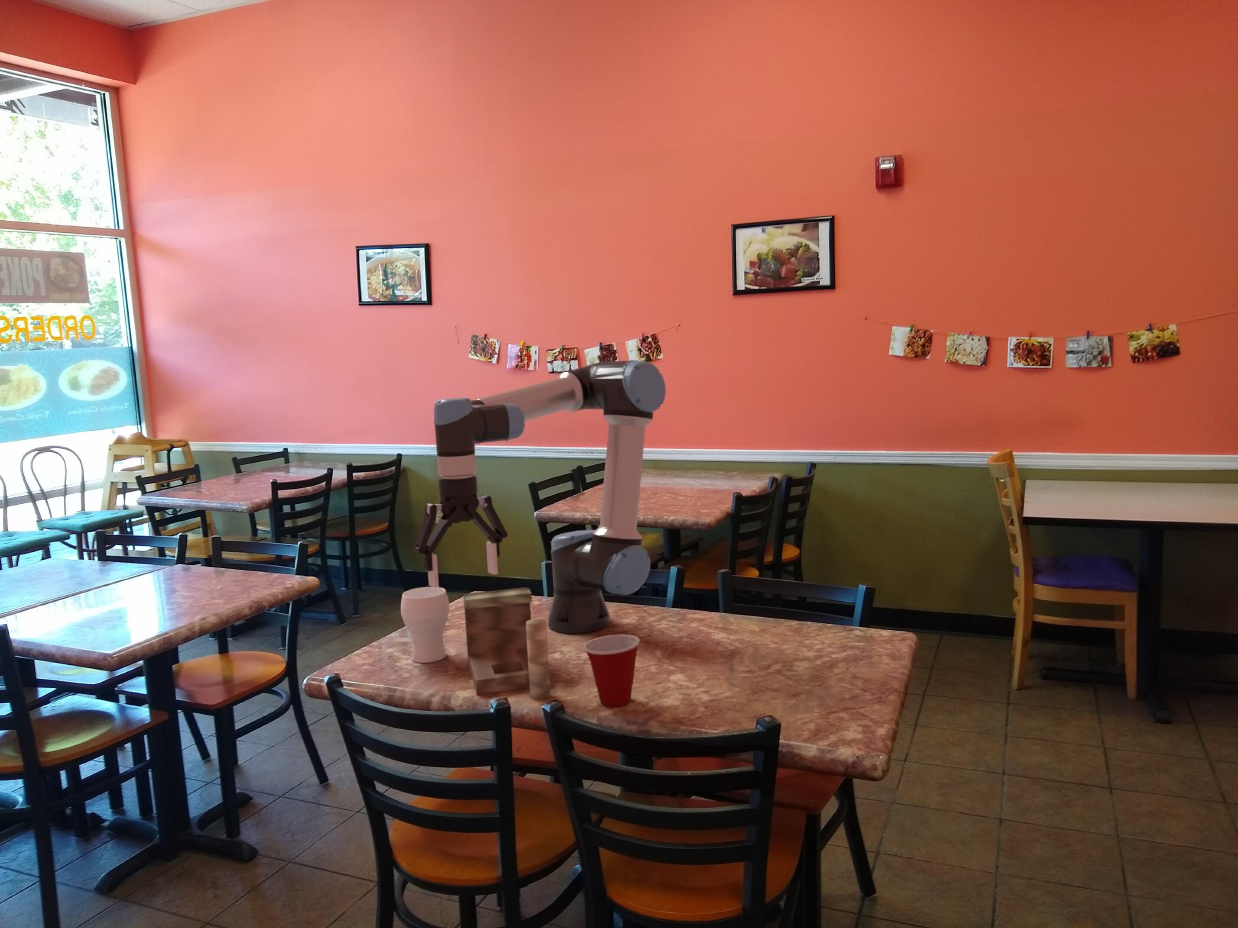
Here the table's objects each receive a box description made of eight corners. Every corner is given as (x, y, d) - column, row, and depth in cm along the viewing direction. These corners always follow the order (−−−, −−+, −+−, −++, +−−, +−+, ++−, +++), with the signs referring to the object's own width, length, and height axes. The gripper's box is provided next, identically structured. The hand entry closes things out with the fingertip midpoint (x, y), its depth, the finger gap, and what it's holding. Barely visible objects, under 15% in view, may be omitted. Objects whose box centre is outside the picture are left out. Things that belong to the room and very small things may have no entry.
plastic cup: (597, 688, 184) (594, 630, 182) (649, 693, 180) (646, 633, 179) (577, 709, 174) (574, 648, 172) (632, 714, 170) (629, 652, 169)
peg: (548, 690, 184) (544, 617, 182) (552, 697, 180) (548, 623, 178) (528, 693, 183) (524, 620, 181) (531, 700, 179) (527, 626, 177)
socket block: (531, 657, 204) (527, 587, 202) (545, 685, 187) (541, 608, 185) (468, 665, 201) (463, 594, 199) (476, 694, 183) (471, 616, 181)
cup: (441, 665, 201) (437, 599, 199) (396, 664, 203) (391, 598, 201) (459, 649, 211) (455, 586, 210) (416, 648, 214) (411, 585, 212)
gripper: (500, 467, 194) (506, 565, 197) (391, 482, 179) (398, 588, 182) (520, 470, 189) (525, 571, 191) (408, 485, 173) (416, 595, 176)
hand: (464, 579), depth 186 cm, fingers open, 13 cm apart
